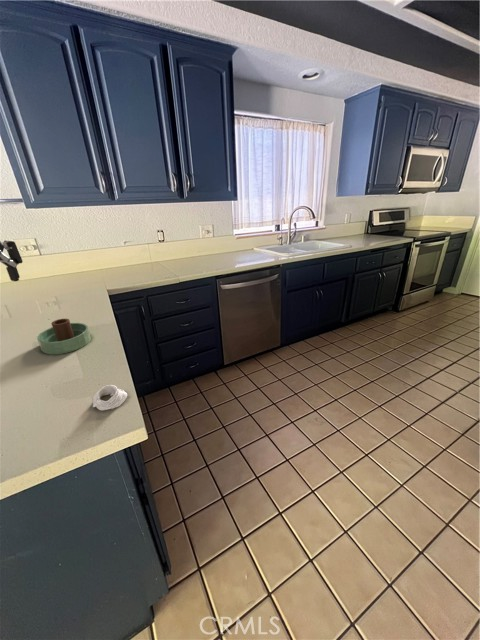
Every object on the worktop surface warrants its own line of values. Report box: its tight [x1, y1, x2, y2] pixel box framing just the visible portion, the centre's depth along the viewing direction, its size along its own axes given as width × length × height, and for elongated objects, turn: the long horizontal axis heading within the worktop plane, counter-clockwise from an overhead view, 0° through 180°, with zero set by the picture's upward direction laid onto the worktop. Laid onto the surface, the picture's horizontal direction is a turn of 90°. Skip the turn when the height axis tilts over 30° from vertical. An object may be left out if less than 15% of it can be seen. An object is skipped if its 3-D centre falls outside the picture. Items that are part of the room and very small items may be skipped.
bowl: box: [36, 322, 92, 355], centre depth 94 cm, size 15×15×5 cm
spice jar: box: [51, 318, 74, 342], centre depth 93 cm, size 5×5×8 cm
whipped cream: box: [92, 384, 128, 411], centre depth 67 cm, size 8×7×5 cm
